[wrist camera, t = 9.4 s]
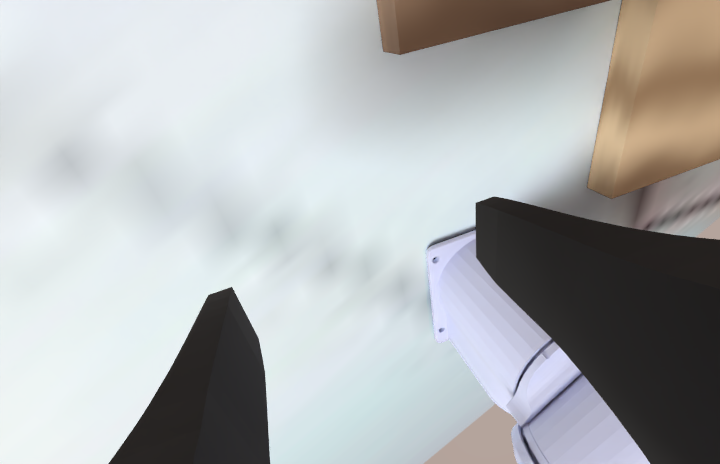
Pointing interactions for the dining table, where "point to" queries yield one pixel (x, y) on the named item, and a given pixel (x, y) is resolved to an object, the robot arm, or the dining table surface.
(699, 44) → the oak stand
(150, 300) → the dining table surface
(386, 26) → the walnut stand
